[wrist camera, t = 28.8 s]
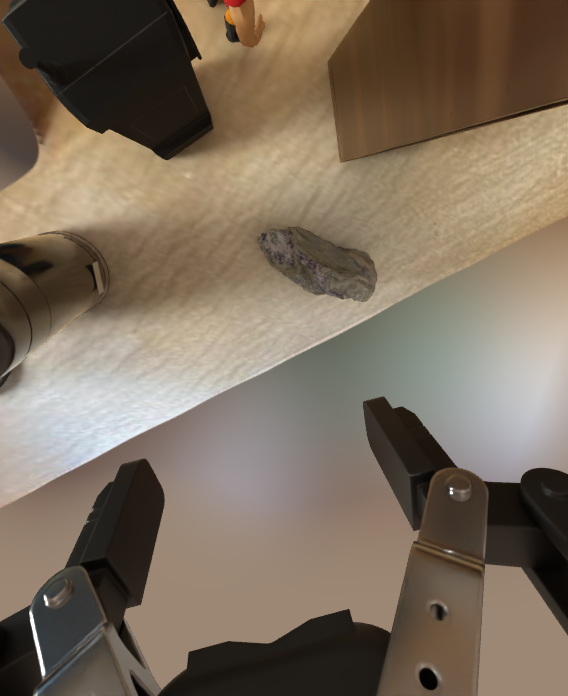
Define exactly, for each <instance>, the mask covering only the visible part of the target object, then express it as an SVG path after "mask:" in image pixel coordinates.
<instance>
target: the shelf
mask: <svg viewBox="0 0 568 696" xmlns="http://www.w3.org/2000/svg"><path fill="white" fill-rule="evenodd" d="M328 68H329V76H330V84H331V92H332V100H333V108H334V116H335V124H336V132H337V140H338V148H339V156H340V162H344V161H348V160H352V159H356V158H360V157H364V156H368V155H373V154H377V153H381V152H385V151H389V150H393V149H397V148H402V147H406V146H410V145H414V144H418V143H422V142H426V141H430V140H434V139H438V138H442V137H446V136H449V135H453V134H457V133H461V132H465V131H468V130H472V129H476V128H480V127H484V126H487V125H491V124H495V123H499V122H502V121H506V120H510V119H514V118H518V117H521V116H525V115H529V114H533V113H537V112H540V111H544V110H548V109H552V108H556V107H559V106H563V105H567V104H568V0H370V1H369V2H368V4H367V5H366V7H365V8H364V10H363V11H362V12H361V14H360V15H359V17H358V18H357V20H356V21H355V23H354V24H353V25H352V27H351V28H350V30H349V31H348V33H347V34H346V36H345V37H344V39H343V40H342V41H341V43H340V44H339V46H338V47H337V49H336V50H335V52H334V53H333V54H332V56H331V58H330V59H329V60H328Z"/></svg>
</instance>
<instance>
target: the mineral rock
mask: <svg viewBox="0 0 568 696" xmlns="http://www.w3.org/2000/svg"><path fill="white" fill-rule="evenodd" d="M258 242H259V245H260V247H261V249H262V250H263V251H264V254H266V256H267V259H268V261H269V263H270V264H271V265H272V266H273V267H275V268H276V269H277V270H278V271H280V272H281V273H283V274H284V275H285V276H288V277H289V279H290V280H292V281H294V282H295V283H297V284H298V285H300V286H302V287H303V289H304V290H306V291H308V292H310V293H313V294H315V295H322V294H327V295H330V296H335V297H337V298H340V299H348V298H352V299H353V300H354V301H361V302H365V301H367V300H368V299H369V298H370V297H371V296H372V294H373V293H374V290H375V284H376V281H377V273H376V270H375V266H374V262H373V261H372V260H371V259H370V256H369V255H368V254H367V253H366V252H361V251H358V250H356V249H344V248H341V247H336V246H335V245H334V244H333V243H331V242H328V241H326V240H323V239H322V238H320V237H318V236H316V235H314V234H313V233H311V232H310V231H307V230H304V229H302V228H300V227H292V228H288V229H286V230H279V231H277V230H275V229H271V230H268V233H266V234H263V233H262V234H261V235H260V236H259V237H258Z"/></svg>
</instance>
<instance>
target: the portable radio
mask: <svg viewBox="0 0 568 696" xmlns="http://www.w3.org/2000/svg"><path fill="white" fill-rule="evenodd" d="M2 24H3V25H4V26H5V28H6V29H7V31H8V32H9V33H10V35H11V36H12V37H13V39H14V40H15V42H16V43H17V44H18V46H19V47H20V48H21V50H20V52H19V59H20V61H21V63H22V64H23V65H24V66H25V67H26V68H29V69H34V68H35V69H36V70H37V72H38V73H39V75H40V76H41V77H42V79H43V80H44V81H45V83H46V84H47V86H48V87H49V88H50V90H51V91H52V93H53V94H54V95H55V96H56V97H57V99H58V100H59V101H60V102H61V103H62V104H63V105H64V106H65V107H66V108H67V109H68V110H69V112H71V113H72V114H73V115H74V116H75V117H76V118H77V119H78V120H79V121H80V122H81V123H82V124H84V125H85V126H86V127H87V128H89V129H92V130H94V131H97V132H99V133H101V134H103V133H104V132H105V131H107V130H108V129H110V130H112V131H114V132H117V133H119V134H121V135H123V136H125V137H127V138H129V139H131V140H133V141H135V142H137V143H139V144H141V145H144V146H146V147H148V148H149V149H151V150H152V151H153V152H154V153H155V154H157V155H158V156H160V157H161V158H162V159H165V160H169V159H171V158H172V157H174V156H175V155H177V154H178V153H179V152H181V151H182V150H184V149H185V148H187V147H188V146H189V145H191V144H192V143H194V142H195V141H197V140H198V139H200V138H201V137H202V136H204V135H205V134H207V133H208V132H210V131H211V130H212V129H213V124H212V121H211V115H210V112H209V110H208V108H207V106H206V103H205V100H204V97H203V95H202V92H201V89H200V86H199V84H198V81H197V78H196V75H195V73H194V70H193V67H192V64H191V61H192V60H193V59H194V58H196V57H198V59H199V60H201V59H202V57H201V55H200V53H199V51H198V49H197V46H196V44H195V42H194V40H193V38H192V36H191V34H190V32H189V29H188V27H187V25H186V23H185V22H184V20H183V18H182V16H181V14H180V12H179V10H178V9H177V7H176V5H175V3H174V1H173V0H13V1H11V2H10V5H9V12H8V13H7V14H6V15H5V16H4V18H3V19H2Z"/></svg>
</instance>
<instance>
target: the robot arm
mask: <svg viewBox="0 0 568 696" xmlns="http://www.w3.org/2000/svg"><path fill="white" fill-rule="evenodd" d="M108 285H109V273H108V269H107V266H106V263H105V261H104V259H103V258H102V256H101V255H100V253H99V252H98V251H97V250H96V249H95V248H94V247H93V246H92V245H91V244H90V243H88V242H87V241H86V240H84V239H82V238H80V237H78V236H76V235H74V234H71V233H67V232H59V231H53V232H47V233H42V234H39V235H37V236H33V237H28V238H23V239H19V240H14V241H10V242H5V243H1V244H0V387H1V386H2V385H3V384H4V382H5V381H6V380H7V378H8V376H9V374H10V372H11V370H12V369H13V368H14V367H16V366H17V365H18V364H19V363H20V362H22V361H23V360H24V359H26V358H27V357H28V356H29V355H31V354H32V353H33V352H34V351H36V350H37V349H38V348H39V347H40V346H42V345H43V344H44V343H46V342H47V341H48V340H49V339H51V338H52V337H53V336H55V335H56V334H57V333H58V332H60V331H61V330H62V329H63V328H65V327H66V326H67V325H69V324H70V323H71V322H72V321H74V320H75V319H76V318H77V317H79V316H80V315H81V314H83V313H84V312H85V311H87V310H88V309H89V308H91V307H93V306H94V305H96V304H97V303H98V302H99V301H100V300H101V299H102V298H103V297H104V295H105V294H106V292H107V289H108ZM363 409H364V417H365V424H366V431H367V437H368V441H369V444H370V447H371V449H372V451H373V453H374V455H375V457H376V459H377V461H378V463H379V465H380V467H381V469H382V471H383V473H384V475H385V476H386V478H387V480H388V482H389V484H390V486H391V488H392V490H393V492H394V494H395V496H396V498H397V499H398V501H399V503H400V505H401V507H402V509H403V511H404V513H405V515H406V517H407V519H408V521H409V523H410V525H411V527H412V528H413V531H416V530H420V531H419V535H418V539H417V542H416V541H414V542H413V544H412V547H411V551H410V554H409V559H408V563H407V567H406V572H405V576H404V580H403V584H402V589H401V593H400V597H399V601H398V605H397V610H396V614H395V618H394V623H393V627H392V631H391V633H390V632H388V631H386V630H384V629H382V628H379V627H376V626H374V625H370V624H365V623H359V622H353V621H352V617H351V614H350V610H349V609H347V610H343V611H339V612H336V613H332V614H328V615H325V616H321V617H317V618H314V619H310V620H308V621H307V622H305V623H304V624H302V625H300V626H299V627H297V628H295V629H294V630H292V631H291V632H289V633H287V634H286V635H284V636H283V637H281V638H279V639H278V640H276V641H274V642H272V643H269V644H263V643H262V644H261V643H247V642H232V641H228V642H224V643H220V644H216V645H213V646H209V647H205V648H202V649H198V650H194V651H190V652H189V654H188V663H187V669H186V670H184V671H183V672H181V673H180V674H179V675H178V676H176V677H175V678H174V679H173V680H172V681H171V682H170V683H168V684H167V685H166V686H165V687H164V688H163V689H162V690H161V688H160V687H159V685H158V684H157V682H156V680H155V679H154V677H153V675H152V673H151V671H150V669H149V667H148V665H147V662H146V660H145V658H144V657H143V654H142V652H141V650H140V648H139V645H138V644H137V641H136V639H135V637H134V635H133V633H132V631H131V629H130V626H129V624H128V622H127V621H126V620H125V618H124V613H125V610H126V609H127V608H130V607H134V606H138V605H141V602H142V598H143V594H144V589H145V585H146V581H147V577H148V572H149V568H150V564H151V560H152V555H153V551H154V546H155V542H156V538H157V534H158V529H159V526H160V521H161V517H162V513H163V509H164V501H165V500H164V492H163V489H162V486H161V484H160V483H159V481H158V479H157V477H156V475H155V473H154V471H153V469H152V468H151V466H150V464H149V462H148V461H147V460H146V459H140V460H136V461H132V462H128V463H124V464H122V465H121V466H120V468H119V471H118V473H117V475H116V478H115V480H114V481H113V482H110V483H108V485H107V486H106V487H105V488H104V489H103V490H102V492H101V493H100V494H99V495H98V497H97V499H96V501H95V503H94V505H93V508H92V510H91V511H92V512H91V513H90V514H89V516H88V519H87V521H86V525H84V527H83V530H82V531H81V534H80V536H79V538H78V540H77V542H76V544H75V547H74V549H73V551H72V553H71V555H70V558H69V560H68V562H67V564H66V566H65V568H64V569H63V570H61V571H59V572H58V573H56V574H55V575H54V576H52V577H51V578H50V579H49V580H48V581H47V582H46V583H45V584H44V585H43V586H42V587H41V588H40V590H39V591H38V592H37V594H36V596H35V597H34V599H33V601H32V604H31V605H29V606H28V607H26V608H24V609H22V610H21V611H19V612H17V613H15V614H13V615H12V616H10V617H8V618H6V619H4V620H3V621H1V622H0V696H477V693H478V677H479V659H480V641H481V625H482V607H483V590H484V572H485V571H484V570H485V564H491V565H502V566H513V567H521V568H522V569H523V571H524V572H525V574H526V575H527V576H528V578H529V579H530V581H531V582H532V584H533V585H534V587H535V588H536V590H537V591H538V592H539V594H540V595H541V597H542V598H543V600H544V601H545V603H546V604H547V606H548V607H549V608H550V610H551V611H552V613H553V614H554V616H555V617H556V619H557V620H558V622H559V623H560V625H561V626H562V628H563V629H564V630H565V632H566V633H567V635H568V474H566V473H564V472H561V471H558V470H554V469H549V468H536V469H531V470H529V471H527V472H526V473H525V474H523V476H522V478H521V483H502V482H486V481H483V480H482V479H480V478H479V477H478V476H477V475H475V474H474V473H472V472H470V471H467V470H464V469H460V468H458V467H457V466H456V465H455V464H454V463H453V461H452V460H451V459H450V458H449V456H448V455H447V454H446V453H445V451H444V450H443V449H442V447H441V446H440V445H439V444H438V443H437V441H436V440H435V439H434V438H433V436H432V435H431V434H430V433H429V431H428V430H427V429H426V427H425V426H423V424H422V422H421V421H420V420H419V419H418V417H417V416H416V415H415V414H414V413H412V412H411V411H409V410H407V409H406V408H404V407H398V408H394V409H393V408H392V407H391V406H390V404H389V403H388V401H387V400H386V398H385V397H379V398H375V399H371V400H367V401H364V402H363Z"/></svg>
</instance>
